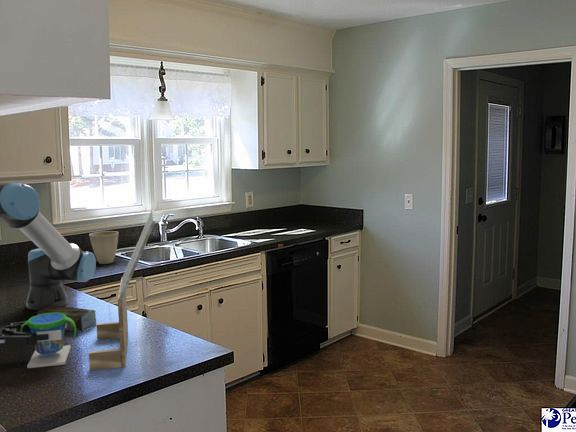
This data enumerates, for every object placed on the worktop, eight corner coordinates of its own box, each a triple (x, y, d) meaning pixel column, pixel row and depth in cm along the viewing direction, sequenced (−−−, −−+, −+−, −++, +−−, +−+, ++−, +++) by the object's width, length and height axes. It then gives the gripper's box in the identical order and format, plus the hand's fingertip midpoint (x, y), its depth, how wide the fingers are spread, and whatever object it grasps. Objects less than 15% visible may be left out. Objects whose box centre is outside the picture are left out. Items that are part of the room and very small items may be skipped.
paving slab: (36, 350, 173) (36, 348, 173) (70, 347, 176) (70, 345, 175) (27, 368, 160) (27, 365, 160) (64, 364, 162) (64, 361, 162)
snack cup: (81, 341, 174) (78, 310, 172) (73, 355, 164) (70, 322, 162) (28, 345, 172) (24, 313, 170) (16, 359, 161) (13, 326, 160)
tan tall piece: (97, 338, 184) (90, 211, 178) (159, 332, 188) (154, 209, 183) (89, 370, 158) (81, 223, 152) (161, 363, 162) (155, 220, 157)
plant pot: (115, 258, 310) (113, 230, 308) (123, 263, 298) (122, 233, 296) (87, 261, 302) (85, 232, 300) (95, 266, 290) (93, 236, 288)
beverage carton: (82, 333, 189) (81, 314, 188) (36, 328, 195) (34, 310, 194) (97, 326, 197) (96, 307, 196) (52, 321, 202) (51, 303, 202)
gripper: (-8, 335, 173) (69, 329, 179) (-29, 362, 152) (59, 354, 157) (-9, 312, 172) (68, 306, 178) (-31, 336, 151) (57, 328, 156)
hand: (63, 328), depth 168 cm, fingers open, 10 cm apart
